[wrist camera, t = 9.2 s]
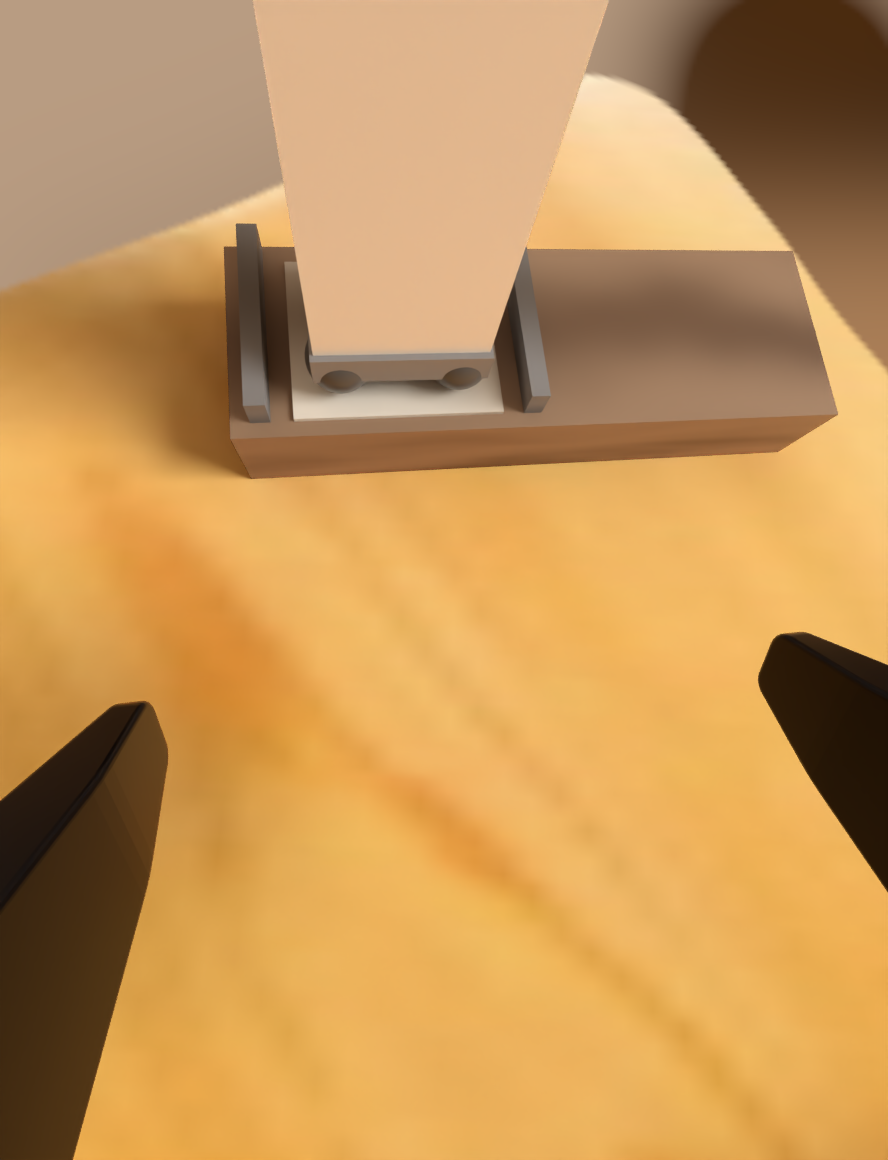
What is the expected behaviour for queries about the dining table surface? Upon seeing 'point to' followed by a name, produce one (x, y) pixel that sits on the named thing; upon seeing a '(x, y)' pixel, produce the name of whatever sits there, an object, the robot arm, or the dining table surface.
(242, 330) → the dock
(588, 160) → the dining table surface
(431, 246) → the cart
